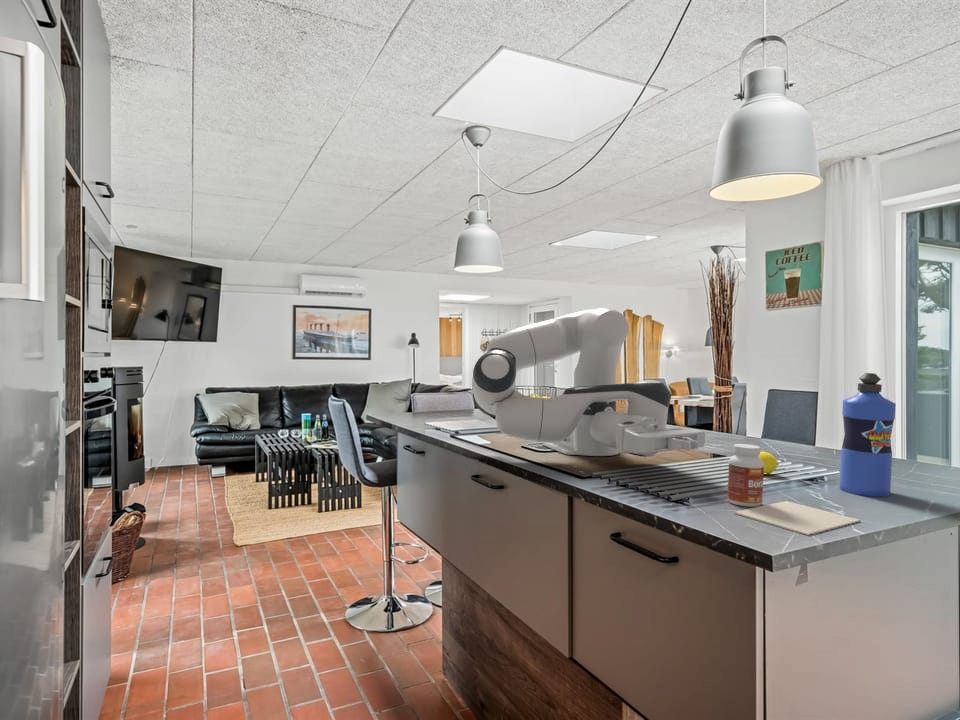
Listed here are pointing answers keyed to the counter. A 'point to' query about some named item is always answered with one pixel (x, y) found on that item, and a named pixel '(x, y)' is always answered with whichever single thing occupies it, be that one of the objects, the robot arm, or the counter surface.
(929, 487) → the counter surface
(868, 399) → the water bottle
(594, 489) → the counter surface
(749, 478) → the pill bottle
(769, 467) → the lemon
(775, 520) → the mat
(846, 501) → the counter surface
